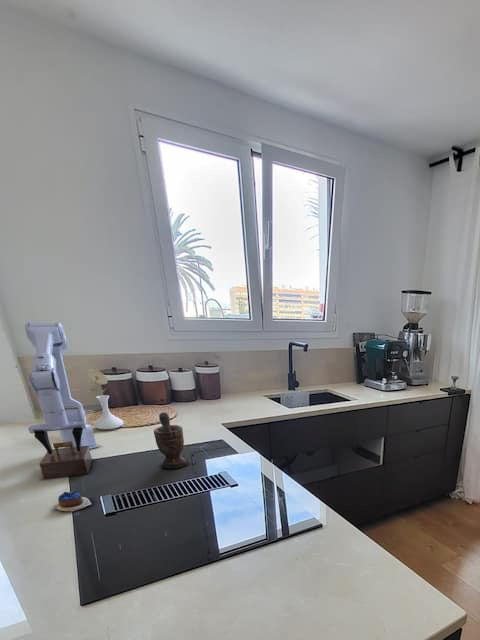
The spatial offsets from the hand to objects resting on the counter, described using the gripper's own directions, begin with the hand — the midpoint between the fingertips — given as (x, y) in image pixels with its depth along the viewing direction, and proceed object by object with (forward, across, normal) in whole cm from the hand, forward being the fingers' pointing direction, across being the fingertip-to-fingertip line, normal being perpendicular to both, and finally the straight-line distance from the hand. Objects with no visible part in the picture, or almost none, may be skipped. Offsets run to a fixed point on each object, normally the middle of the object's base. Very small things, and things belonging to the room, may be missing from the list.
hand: (65, 451), depth 127 cm
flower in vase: (+6, +8, +49) cm, 50 cm away
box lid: (+1, 0, -1) cm, 1 cm away
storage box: (+6, 0, -1) cm, 6 cm away
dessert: (+6, +5, -32) cm, 32 cm away
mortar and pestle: (+6, +31, -12) cm, 34 cm away
